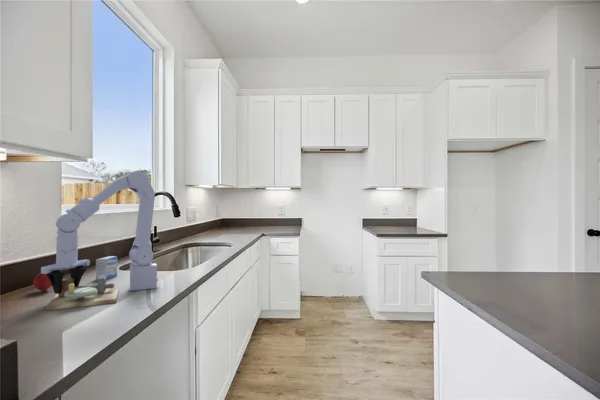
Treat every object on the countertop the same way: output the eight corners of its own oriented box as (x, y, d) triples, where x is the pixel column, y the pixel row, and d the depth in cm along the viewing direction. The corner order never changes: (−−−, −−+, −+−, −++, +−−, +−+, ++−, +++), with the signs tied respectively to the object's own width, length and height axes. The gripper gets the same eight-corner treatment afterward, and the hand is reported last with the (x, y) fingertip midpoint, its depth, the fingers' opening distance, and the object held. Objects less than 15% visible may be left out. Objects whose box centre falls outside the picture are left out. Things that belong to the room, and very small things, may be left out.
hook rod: (114, 288, 111) (115, 274, 112) (114, 291, 108) (114, 276, 108) (60, 293, 104) (61, 278, 105) (58, 296, 101) (58, 281, 101)
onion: (42, 294, 109) (42, 271, 109) (28, 293, 110) (29, 270, 110) (58, 289, 114) (58, 268, 114) (45, 288, 116) (45, 267, 116)
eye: (105, 289, 111) (106, 274, 111) (104, 293, 106) (104, 278, 106) (99, 290, 110) (99, 275, 110) (97, 294, 105) (97, 278, 105)
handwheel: (100, 298, 100) (100, 281, 100) (69, 304, 94) (69, 286, 94) (90, 293, 106) (91, 277, 106) (60, 299, 99) (61, 281, 99)
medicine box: (105, 280, 130) (106, 259, 130) (95, 279, 130) (95, 259, 130) (117, 275, 138) (117, 256, 138) (107, 275, 138) (107, 255, 138)
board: (118, 291, 114) (118, 288, 114) (116, 302, 101) (116, 298, 101) (57, 297, 105) (57, 293, 105) (46, 310, 93) (46, 306, 93)
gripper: (52, 254, 96) (51, 298, 96) (96, 247, 110) (95, 286, 109) (36, 252, 98) (35, 296, 98) (81, 246, 112) (80, 284, 112)
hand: (66, 291), depth 104 cm, fingers closed on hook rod, 5 cm apart
